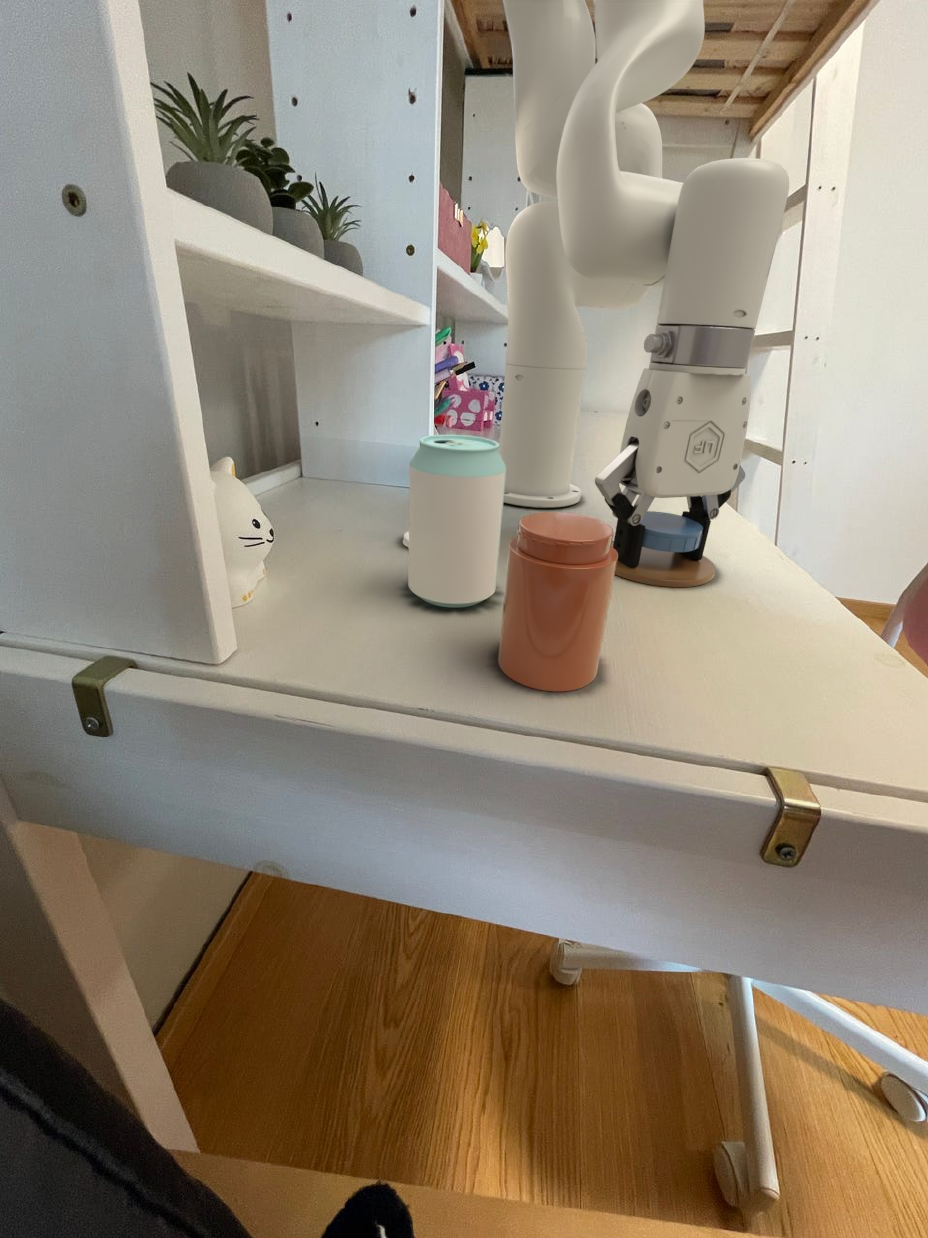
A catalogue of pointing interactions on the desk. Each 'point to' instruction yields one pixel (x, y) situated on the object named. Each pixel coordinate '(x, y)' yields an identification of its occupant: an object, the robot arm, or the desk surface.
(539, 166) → the robot arm
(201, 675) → the desk surface
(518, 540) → the jar
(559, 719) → the desk surface
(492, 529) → the can
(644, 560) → the coaster
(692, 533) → the lid
